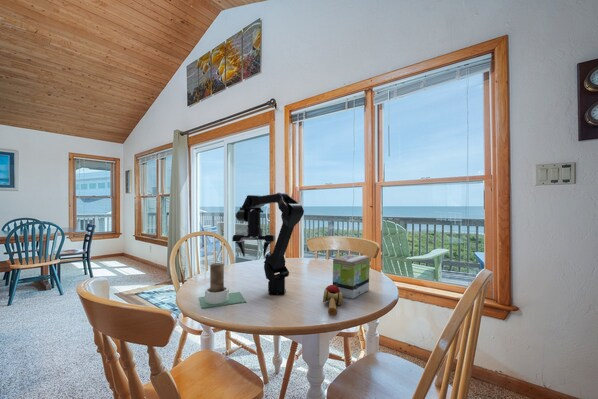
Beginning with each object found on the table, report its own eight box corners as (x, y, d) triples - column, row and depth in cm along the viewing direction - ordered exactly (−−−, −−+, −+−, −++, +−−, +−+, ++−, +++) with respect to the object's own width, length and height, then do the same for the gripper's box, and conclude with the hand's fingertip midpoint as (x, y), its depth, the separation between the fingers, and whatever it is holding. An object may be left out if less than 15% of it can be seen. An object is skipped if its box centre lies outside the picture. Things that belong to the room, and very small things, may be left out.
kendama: (346, 320, 94) (343, 294, 112) (343, 302, 93) (340, 279, 111) (323, 323, 95) (324, 297, 113) (320, 305, 94) (321, 282, 112)
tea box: (354, 299, 110) (354, 261, 110) (331, 294, 116) (331, 258, 116) (369, 290, 122) (369, 255, 122) (348, 285, 128) (348, 253, 128)
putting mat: (239, 292, 118) (239, 282, 118) (246, 302, 107) (246, 290, 107) (199, 298, 112) (199, 287, 112) (201, 308, 101) (201, 296, 101)
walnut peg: (222, 295, 112) (221, 262, 112) (225, 299, 108) (225, 265, 108) (209, 297, 110) (209, 263, 110) (211, 301, 105) (211, 266, 105)
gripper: (276, 221, 137) (276, 253, 137) (238, 221, 138) (238, 253, 138) (273, 223, 126) (273, 258, 126) (232, 222, 127) (232, 257, 127)
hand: (254, 256), depth 129 cm, fingers open, 9 cm apart
